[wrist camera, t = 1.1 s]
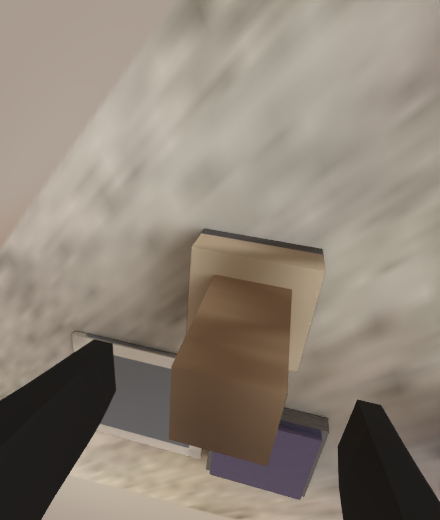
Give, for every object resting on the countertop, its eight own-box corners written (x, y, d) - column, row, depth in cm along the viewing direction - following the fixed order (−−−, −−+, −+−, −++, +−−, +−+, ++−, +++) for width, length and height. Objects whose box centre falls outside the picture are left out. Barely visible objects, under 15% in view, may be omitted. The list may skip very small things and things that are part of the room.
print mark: (212, 362, 18) (210, 367, 17) (201, 454, 21) (200, 459, 21) (74, 330, 19) (71, 334, 19) (87, 423, 23) (84, 427, 22)
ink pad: (327, 418, 18) (329, 439, 17) (304, 483, 20) (304, 504, 19) (217, 391, 19) (212, 409, 18) (209, 456, 21) (204, 475, 20)
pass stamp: (322, 248, 14) (339, 374, 8) (297, 341, 16) (295, 495, 10) (204, 228, 14) (134, 328, 8) (197, 320, 17) (137, 451, 11)
